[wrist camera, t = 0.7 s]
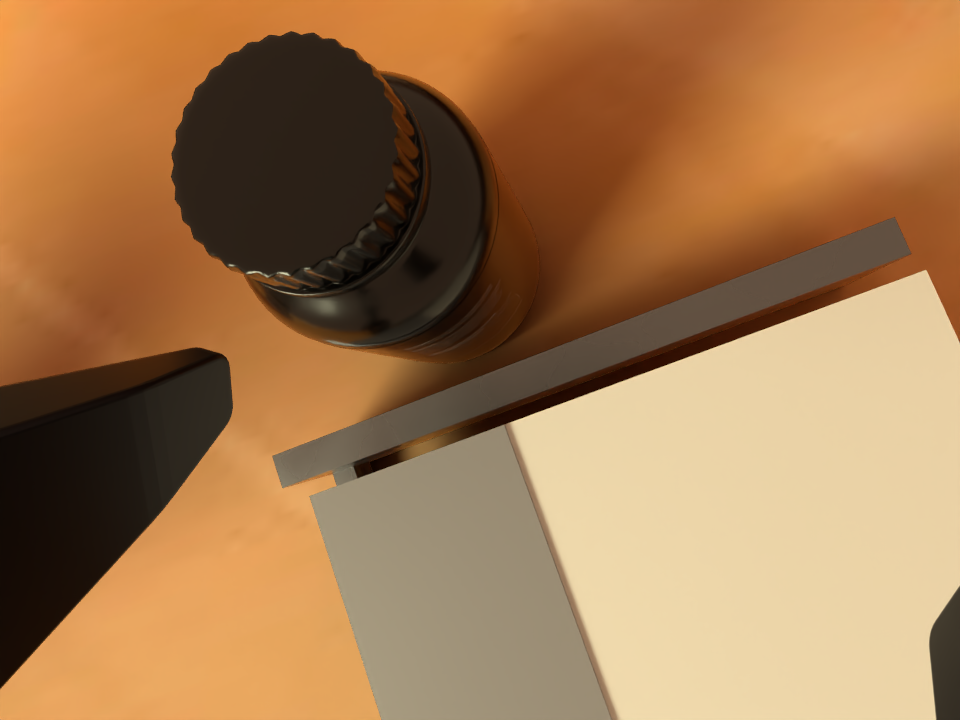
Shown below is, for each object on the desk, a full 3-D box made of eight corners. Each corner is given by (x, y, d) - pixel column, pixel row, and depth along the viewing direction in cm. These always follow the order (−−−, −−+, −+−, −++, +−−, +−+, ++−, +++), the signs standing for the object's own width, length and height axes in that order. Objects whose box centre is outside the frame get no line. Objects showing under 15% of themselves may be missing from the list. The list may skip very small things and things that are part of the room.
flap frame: (478, 855, 23) (439, 982, 18) (341, 443, 24) (272, 456, 20) (1035, 720, 19) (1174, 829, 15) (831, 257, 21) (894, 217, 16)
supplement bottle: (535, 166, 23) (450, -59, 12) (548, 357, 23) (474, 320, 11) (354, 191, 25) (118, 12, 13) (364, 371, 24) (128, 351, 13)
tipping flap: (475, 854, 20) (450, 932, 17) (351, 482, 22) (309, 496, 19) (1069, 709, 17) (1161, 774, 14) (880, 288, 19) (929, 268, 16)
